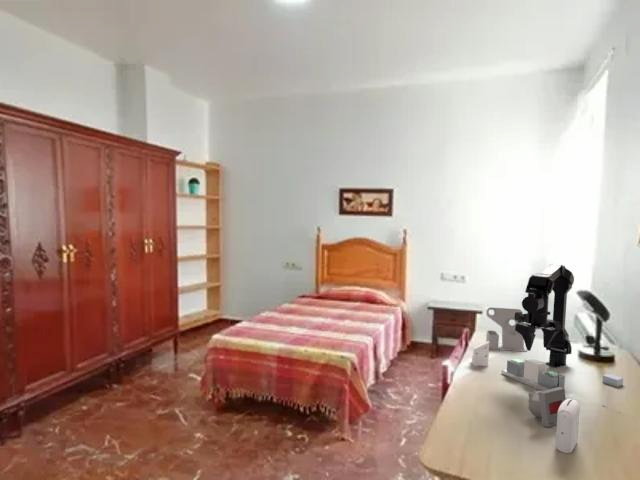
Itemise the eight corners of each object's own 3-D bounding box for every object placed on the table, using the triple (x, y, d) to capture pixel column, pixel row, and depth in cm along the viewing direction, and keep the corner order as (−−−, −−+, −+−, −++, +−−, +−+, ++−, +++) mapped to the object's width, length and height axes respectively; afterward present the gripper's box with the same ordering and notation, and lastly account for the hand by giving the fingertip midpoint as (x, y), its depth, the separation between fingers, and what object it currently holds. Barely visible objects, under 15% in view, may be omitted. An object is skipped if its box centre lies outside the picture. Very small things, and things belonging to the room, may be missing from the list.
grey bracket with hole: (488, 348, 209) (490, 310, 208) (484, 342, 219) (486, 306, 218) (527, 352, 206) (530, 313, 205) (522, 345, 216) (524, 309, 215)
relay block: (616, 390, 163) (622, 388, 165) (617, 380, 163) (623, 378, 165) (602, 385, 167) (608, 384, 169) (603, 375, 167) (608, 373, 169)
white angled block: (499, 360, 185) (489, 342, 185) (477, 371, 186) (467, 352, 186) (496, 357, 188) (487, 339, 188) (474, 368, 190) (465, 350, 190)
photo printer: (571, 455, 117) (574, 409, 116) (553, 449, 120) (556, 404, 119) (579, 441, 125) (582, 397, 124) (562, 435, 128) (564, 393, 127)
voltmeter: (569, 433, 129) (571, 400, 129) (526, 423, 134) (528, 391, 134) (566, 400, 153) (568, 371, 152) (529, 393, 158) (531, 365, 157)
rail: (514, 371, 180) (514, 355, 179) (564, 391, 160) (565, 374, 160) (501, 373, 177) (502, 358, 176) (551, 394, 157) (552, 377, 156)
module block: (530, 375, 171) (532, 357, 170) (544, 381, 165) (546, 362, 165) (523, 377, 169) (524, 358, 169) (537, 382, 164) (538, 363, 163)
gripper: (537, 302, 178) (535, 340, 179) (504, 305, 170) (502, 345, 171) (563, 307, 168) (561, 348, 169) (529, 312, 160) (526, 354, 161)
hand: (537, 349), depth 168 cm, fingers open, 9 cm apart
